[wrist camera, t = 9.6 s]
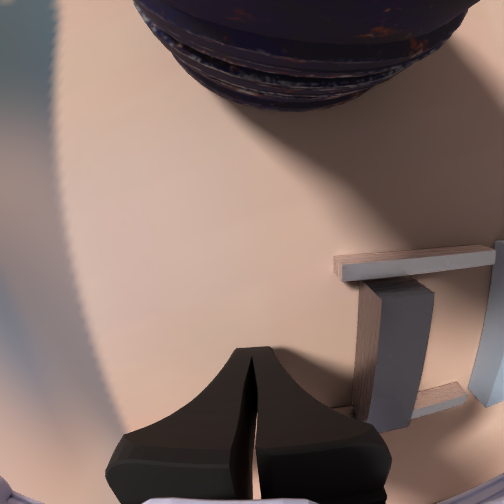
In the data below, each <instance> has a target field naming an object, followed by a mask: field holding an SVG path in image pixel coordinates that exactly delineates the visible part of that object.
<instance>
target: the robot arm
mask: <svg viewBox="0 0 504 504" xmlns="http://www.w3.org/2000/svg"><path fill="white" fill-rule="evenodd" d="M257 413H258V415H257ZM256 419H257V433H256V445H255V448H256V457H257V465H258V474H259V482H260V491H261V499H259V500H253V485H252V460H253V449H254V439H255V429H256ZM391 461H392V458H391V455H390V452H389V449H388V447H387V445H386V443H385V442H384V440H383V439H382V437H381V436H380V434H379V433H378V431H377V430H376V428H375V427H374V426H373V425H372V424H369V423H366V422H363V421H360V420H357V419H353V418H350V417H348V416H346V415H343V414H341V413H339V412H337V411H335V410H333V409H331V408H329V407H327V406H326V405H324V404H322V403H321V402H319V401H317V400H316V399H315V398H313V397H312V396H311V395H309V394H308V393H307V392H306V391H304V390H303V389H302V388H301V387H300V386H299V385H298V384H297V383H296V382H295V381H294V380H293V379H292V378H291V376H290V375H289V374H288V373H287V372H286V370H285V369H284V368H283V367H282V365H281V364H280V362H279V361H278V359H277V358H276V356H275V354H274V352H273V350H272V348H271V347H269V346H266V347H250V348H236V349H235V350H234V352H233V353H232V355H231V357H230V358H229V360H228V361H227V363H226V364H225V365H224V367H223V368H222V369H221V371H220V372H219V373H218V375H217V376H216V377H215V378H214V379H213V381H212V382H211V383H210V384H209V385H208V386H207V387H206V388H205V389H204V390H203V391H202V392H201V393H200V394H199V395H198V396H197V397H196V398H194V399H193V400H192V401H191V402H189V403H188V404H186V405H185V406H184V407H182V408H181V409H179V410H178V411H176V412H175V413H173V414H171V415H170V416H168V417H166V418H164V419H162V420H160V421H158V422H156V423H154V424H152V425H149V426H147V427H144V428H142V429H139V430H136V431H133V432H130V433H127V434H124V435H123V437H122V438H121V440H120V442H119V443H118V445H117V447H116V449H115V451H114V453H113V455H112V457H111V459H110V461H109V464H108V466H107V468H106V473H105V474H106V475H105V477H106V480H107V482H108V484H109V486H110V488H111V489H112V491H113V492H114V494H115V495H116V497H117V498H118V500H119V502H120V503H121V504H386V503H385V501H386V500H387V494H386V492H385V489H384V485H385V482H386V479H387V476H388V473H389V470H390V467H391ZM0 504H44V503H41V502H39V501H36V500H34V499H31V498H29V497H26V496H24V495H21V494H19V493H17V492H15V491H13V490H12V489H11V487H10V485H9V484H8V483H7V482H6V480H5V479H4V478H3V477H1V476H0ZM436 504H504V473H502V474H500V475H499V476H497V477H495V478H493V479H491V480H489V481H487V482H485V483H483V484H481V485H479V486H476V487H474V488H472V489H470V490H468V491H466V492H463V493H461V494H459V495H456V496H454V497H451V498H449V499H446V500H444V501H441V502H439V503H436Z"/></svg>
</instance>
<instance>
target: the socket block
mask: <svg viewBox="0 0 504 504" xmlns="http://www.w3.org/2000/svg"><path fill="white" fill-rule="evenodd" d="M494 249H495V250H496V258H495V264H493V268H492V277H491V284H490V291H489V298H488V304H487V310H486V316H485V321H484V326H483V331H482V335H481V340H480V344H479V348H478V353H477V357H476V360H475V364H474V368H473V372H472V375H471V379H470V382H469V385H468V389H469V390H470V391H471V392H472V393H473V394H474V395H475V396H476V398H477V399H478V400H479V401H480V402H481V403H482V404H483V406H484V407H485V408H487V407H489V406H492V405H494V404H497V403H499V402H501V401H504V240H497V241H495V247H494Z"/></svg>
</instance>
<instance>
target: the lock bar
mask: <svg viewBox="0 0 504 504" xmlns="http://www.w3.org/2000/svg"><path fill="white" fill-rule="evenodd" d="M433 302H434V292H432V291H431V290H429V289H428V288H427V287H425V286H424V285H422V284H421V283H419V282H418V281H416V280H415V279H413V278H412V277H411V276H409V275H405V276H396V277H386V278H377V279H367V280H359V306H358V327H357V343H356V356H355V368H354V379H353V389H352V398H351V403H352V405H353V408H354V410H355V413H356V415H357V418H358V420H360V421H363V422H366V423H369V424H372V425H373V426H374V427H375V428H376V430H377V431H378V433H382V432H387V431H391V430H395V429H400V428H404V427H408V426H409V424H410V421H411V417H412V413H413V410H414V406H415V402H416V398H417V394H418V389H419V385H420V380H421V376H422V371H423V366H424V361H425V356H426V350H427V344H428V338H429V332H430V325H431V318H432V310H433Z"/></svg>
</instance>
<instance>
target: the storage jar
mask: <svg viewBox="0 0 504 504" xmlns="http://www.w3.org/2000/svg"><path fill="white" fill-rule="evenodd" d="M478 1H480V0H133V2H134V5H135V7H136V9H137V10H138V12H139V13H140V15H141V17H142V18H143V20H144V22H145V23H146V24H147V26H148V27H149V28H150V30H151V31H152V32H153V34H154V35H155V36H156V37H157V38H158V39H159V40H160V41H161V43H162V44H163V45H164V46H165V47H166V48H167V49H168V50H169V51H170V52H171V53H172V54H173V56H174V58H175V59H176V60H177V62H178V63H179V64H180V65H181V66H182V67H183V68H184V69H185V71H186V72H187V73H188V74H189V75H190V76H192V77H193V78H194V79H196V80H197V81H198V82H199V83H200V84H202V85H203V86H205V87H206V88H208V89H210V90H212V91H213V92H215V93H217V94H219V95H220V96H223V97H225V98H228V99H230V100H233V101H235V102H237V103H240V104H244V105H248V106H252V107H255V108H259V109H266V110H274V111H281V112H304V111H312V110H320V109H325V108H329V107H332V106H336V105H340V104H343V103H345V102H347V101H350V100H352V99H354V98H356V97H359V96H360V95H362V94H363V93H364V92H366V91H367V90H369V89H370V88H372V87H373V86H375V85H377V84H379V83H382V82H384V81H387V80H389V79H390V78H392V77H393V76H395V75H396V74H398V73H399V72H401V71H402V70H404V69H406V68H407V67H409V66H410V65H412V64H413V63H414V62H416V61H419V60H421V59H423V58H425V57H426V56H428V55H430V54H431V53H433V52H435V51H436V50H438V49H439V48H440V47H441V46H442V45H443V44H444V43H445V42H446V41H447V40H448V39H449V38H450V36H451V35H452V33H453V32H454V31H455V30H456V29H457V28H458V27H459V26H460V25H461V23H462V21H463V19H464V17H465V15H466V13H467V12H468V8H470V7H471V6H472V5H474V4H475V3H477V2H478Z"/></svg>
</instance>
